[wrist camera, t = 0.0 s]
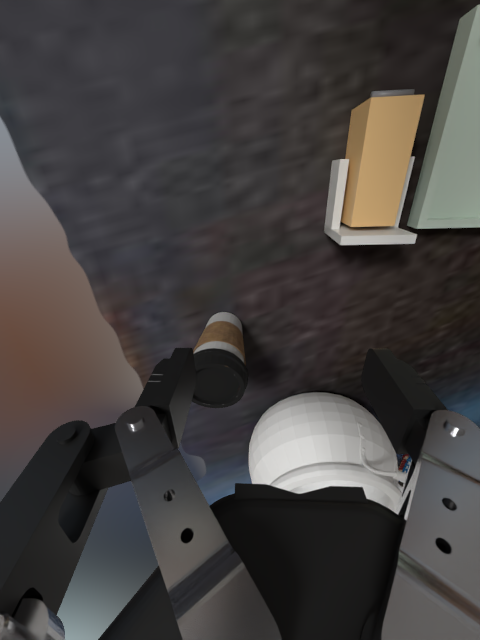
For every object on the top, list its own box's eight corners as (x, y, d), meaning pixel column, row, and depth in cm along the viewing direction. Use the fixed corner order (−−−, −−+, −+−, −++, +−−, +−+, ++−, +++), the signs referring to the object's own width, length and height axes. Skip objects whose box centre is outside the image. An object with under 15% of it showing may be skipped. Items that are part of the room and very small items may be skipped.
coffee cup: (209, 297, 43) (189, 351, 30) (257, 315, 44) (258, 375, 31) (194, 338, 47) (171, 401, 34) (238, 353, 48) (233, 421, 35)
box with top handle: (352, 102, 31) (372, 87, 25) (397, 100, 30) (427, 84, 25) (336, 219, 37) (350, 226, 32) (374, 218, 36) (394, 225, 31)
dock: (332, 160, 33) (353, 157, 26) (399, 158, 33) (439, 153, 26) (324, 231, 37) (340, 245, 30) (384, 230, 37) (414, 243, 30)
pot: (320, 352, 47) (351, 436, 32) (408, 423, 55) (468, 518, 39) (220, 433, 59) (209, 523, 44) (304, 482, 66) (320, 574, 51)
